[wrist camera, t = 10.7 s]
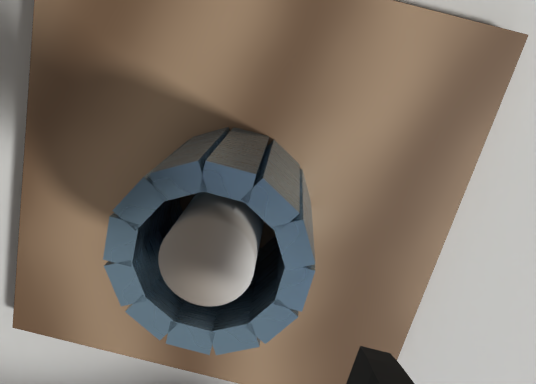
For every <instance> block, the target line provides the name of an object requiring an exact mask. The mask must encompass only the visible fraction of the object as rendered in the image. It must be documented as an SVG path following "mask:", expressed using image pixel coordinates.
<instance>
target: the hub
mask: <svg viewBox="0 0 536 384" xmlns="http://www.w3.org/2000/svg"><path fill="white" fill-rule="evenodd" d="M268 140H269V136H266V135H262V134H258V133H255V132H251V131H247V130H244V129H240V128H236V127H233V129H232V130H231V131H230V130H229V127H226V128H223V129H219V130H215V131H212V132H208V133H204V134H201V135H197V136H194V137H193V138H191V139H189V140H188V141H187V142H185V143H184V144H183V145H182V146H180V147H179V148H178V149H177V150H176V151H174V152H173V153H172V154H171V155H169V156H168V157H167V158H166V159H165V160H163V161H162V162H161V163H160V164H159V165H157V166H156V167H155V168H154V169H152V170H151V171H150V172H149V173H148V174H146V175H145V176H144V177H143V178H142V179H141V180H140V181H139V182H138V183H137V184H136V185H135V187H134V188H133V189H132V190H131V191H130V192H129V193H128V194H127V195H126V196H125V197H124V198H123V200H122V201H121V202H120V203H119V204H118V205H117V206H116V207H115V208H114V209H113V210H112V211H113V212H114V213H113V214H112V215H111V216H109V223H108V229H107V236H106V242H105V249H104V256H103V260H106V261H108V262H107V263H106V264H105V265H104V268H105V270H106V272H107V275H108V277H109V280H110V282H111V284H112V287H113V289H114V291H115V294H116V296H117V298H118V301H119V303H120V306H126V305H129V306H128V308H127V309H126V311H125V312H126V313H127V314H128V315H129V316H131V317H132V318H133V319H134V320H135V321H137V322H138V323H139V324H140V325H141V326H143V327H144V328H145V329H146V330H147V331H149V332H150V333H151V334H152V335H153V336H155V337H156V338H157V339H158V340H161V339H162V338H163V337H164V336H165V335H166V334H167V333H168V335H167V340H166V344H169V345H173V346H176V347H180V348H184V349H188V350H192V351H196V352H199V353H203V354H207V355H210V352H211V348H212V345H213V348H214V351H215V354H216V355H220V354H226V353H231V352H236V351H241V350H246V349H251V348H257V347H260V340H261V341H262V342H263V343H264V344H266V343H267V342H269V341H270V340H271V339H272V338H274V337H275V336H276V335H277V334H278V333H280V332H281V331H282V330H283V329H284V328H286V327H287V326H288V325H289V324H290V323H292V322H293V321H294V320H295V319H297V318H298V311H301V312H302V310H303V307H304V304H305V301H306V298H307V295H308V292H309V289H310V286H311V283H312V280H313V276H314V273H315V250H314V236H313V222H312V208H311V200H310V196H309V192H308V188H307V185H306V181H305V177H304V173H303V169H300V164H299V163H298V162H297V161H296V160H295V159H294V158H293V157H292V156H291V155H290V154H289V153H288V152H287V151H286V150H285V149H284V148H283V147H282V146H281V145H280V144H279V143H278V142H276V141H275V140H273V141H272V142H271V143H270V144H269V145H268V146H267V144H268ZM199 192H207V193H211V194H215V195H218V196H222V197H226V198H230V199H234V200H237V201H241V202H244V203H245V204H247V205H248V206H249V207H250V208H251V209H252V210H253V211H254V212H255V213H256V214H257V215H258V216H259V217H260V218H261V219H263V220H264V221H265V222H266V223H267V224H268V225H269V226H270V227H271V228H272V229H273V230H274V231H275V235H276V236H275V237H273V238H272V239H271V240H270V241H269V242H268V243H267V244H266V245H265V246H264V247H262V248H259V250H258V255H257V260H256V265H255V270H254V275H253V278H252V281H251V283H250V285H249V287H248V288H247V289H246V291H245V292H244V293H243V294H242V295H241V296H239V297H238V298H237V299H235V300H234V301H232V302H229V303H227V304H224V305H219V306H201V305H196V304H193V303H190V302H188V301H186V300H184V299H182V298H180V297H179V296H178V295H176V294H175V293H174V292H173V291H172V290H171V289H170V288H169V287H168V285H167V284H166V282H165V281H164V279H163V277H162V275H161V272H160V269H159V262H158V256H159V250H160V246H161V244H162V242H163V240H164V238H165V237H166V235H167V234H168V232H169V231H170V230H171V228H172V227H173V225H174V224H175V223H176V221H177V220H178V218H179V217H180V216H181V214H182V213H183V211H182V208H181V206H180V198H181V197H184V196H188V195H191V194H195V193H199Z"/></svg>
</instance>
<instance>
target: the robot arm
mask: <svg viewBox="0 0 536 384" xmlns="http://www.w3.org/2000/svg"><path fill="white" fill-rule="evenodd" d="M346 384H414V383H413V381H412V380H411V379H410V377H409V376H408V375H407V373H406V372H405V371H404V369H403V368H402V367H401V365H400V364H399V363H398V362H397V360H396V359H395V358H394V357H393V356H392V354H391V353H387V352H383V351H379V350H375V349H371V348H367V347H363V346H360V347H359V350H358V353H357V356H356V358H355V361H354V364H353V366H352V369H351V372H350V375H349V377H348V380H347V383H346Z"/></svg>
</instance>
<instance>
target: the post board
mask: <svg viewBox="0 0 536 384" xmlns="http://www.w3.org/2000/svg"><path fill="white" fill-rule="evenodd" d="M527 37H528V35H527V34H523V33H519V32H515V31H511V30H507V29H503V28H499V27H495V26H491V25H487V24H484V23H480V22H476V21H472V20H468V19H464V18H460V17H456V16H452V15H448V14H445V13H441V12H437V11H433V10H429V9H425V8H421V7H417V6H413V5H409V4H405V3H402V2H398V1H394V0H34V13H33V28H32V43H31V58H30V73H29V89H28V104H27V119H26V134H25V149H24V164H23V179H22V194H21V209H20V224H19V239H18V254H17V269H16V284H15V299H14V314H13V328H17V329H21V330H25V331H29V332H33V333H37V334H41V335H45V336H49V337H53V338H57V339H61V340H65V341H69V342H73V343H77V344H81V345H85V346H89V347H93V348H97V349H101V350H106V351H110V352H114V353H118V354H122V355H126V356H130V357H134V358H138V359H142V360H146V361H150V362H154V363H158V364H162V365H166V366H170V367H174V368H178V369H182V370H186V371H190V372H194V373H198V374H203V375H207V376H211V377H215V378H219V379H223V380H227V381H231V382H235V383H239V384H346V383H347V380H348V377H349V375H350V372H351V369H352V366H353V364H354V361H355V358H356V356H357V353H358V350H359V347H360V346H363V347H367V348H371V349H375V350H379V351H383V352H387V353H391V354H392V356H393V357H394V358H395V359H396V360H397V359H398V356H399V354H400V351H401V349H402V346H403V344H404V341H405V339H406V336H407V334H408V331H409V329H410V326H411V324H412V321H413V319H414V316H415V314H416V312H417V309H418V307H419V304H420V302H421V299H422V297H423V294H424V292H425V289H426V287H427V284H428V282H429V279H430V277H431V274H432V272H433V270H434V267H435V265H436V262H437V260H438V257H439V255H440V252H441V250H442V247H443V245H444V242H445V240H446V237H447V235H448V232H449V230H450V228H451V225H452V223H453V220H454V218H455V215H456V213H457V210H458V208H459V205H460V203H461V200H462V198H463V195H464V193H465V190H466V188H467V186H468V183H469V181H470V178H471V176H472V173H473V171H474V168H475V166H476V163H477V161H478V158H479V156H480V153H481V151H482V148H483V146H484V144H485V141H486V139H487V136H488V134H489V131H490V129H491V126H492V124H493V121H494V119H495V116H496V114H497V111H498V109H499V106H500V104H501V102H502V99H503V97H504V94H505V92H506V89H507V87H508V84H509V82H510V79H511V77H512V74H513V72H514V69H515V67H516V64H517V62H518V60H519V57H520V55H521V52H522V50H523V47H524V45H525V42H526V40H527ZM226 127H229V130H230V131H231V130H232V129H233V127H236V128H240V129H244V130H247V131H251V132H255V133H258V134H262V135H266V136H269V140H268V144H267V146H268V145H269V144H270V143H271V142H272V141H273V140H275V141H276V142H278V143H279V144H280V145H281V146H282V147H283V148H284V149H285V150H286V151H287V152H288V153H289V154H290V155H291V156H292V157H293V158H294V159H295V160H296V161H297V162H298V163H299V164H300V169H303V173H304V177H305V181H306V185H307V188H308V192H309V196H310V200H311V208H312V222H313V236H314V250H315V273H314V276H313V280H312V283H311V286H310V289H309V292H308V295H307V298H306V301H305V304H304V307H303V310H302V312H301V311H298V318H297V319H295V320H294V321H293V322H292V323H290V324H289V325H288V326H287V327H286V328H284V329H283V330H282V331H281V332H280V333H278V334H277V335H276V336H275V337H274V338H272V339H271V340H270V341H269V342H267V343H266V344H264V343H263V342H262V341H261V340H260V347H257V348H251V349H246V350H241V351H236V352H231V353H226V354H220V355H216V354H215V351H214V348H213V345H212V348H211V352H210V355H207V354H203V353H199V352H196V351H192V350H188V349H184V348H180V347H176V346H173V345H169V344H166V340H167V335H168V333H167V334H166V335H165V336H164V337H163V338H162V339H161V340H158V339H157V338H156V337H155V336H153V335H152V334H151V333H150V332H149V331H147V330H146V329H145V328H144V327H143V326H141V325H140V324H139V323H138V322H137V321H135V320H134V319H133V318H132V317H131V316H129V315H128V314H127V313H126V312H125V311H126V309H127V308H128V306H129V305H126V306H120V303H119V301H118V298H117V296H116V294H115V291H114V289H113V287H112V284H111V282H110V280H109V277H108V275H107V272H106V270H105V268H104V265H105V264H106V263H107V262H108V261H106V260H103V256H104V249H105V242H106V236H107V229H108V223H109V216H111V215H112V214H113V213H114V212H113V211H112V210H113V209H114V208H115V207H116V206H117V205H118V204H119V203H120V202H121V201H122V200H123V198H124V197H125V196H126V195H127V194H128V193H129V192H130V191H131V190H132V189H133V188H134V187H135V185H136V184H137V183H138V182H139V181H140V180H141V179H142V178H143V177H144V176H145V175H146V174H148V173H149V172H150V171H151V170H152V169H154V168H155V167H156V166H157V165H159V164H160V163H161V162H162V161H163V160H165V159H166V158H167V157H168V156H169V155H171V154H172V153H173V152H174V151H176V150H177V149H178V148H179V147H180V146H182V145H183V144H184V143H185V142H187V141H188V140H189V139H191V138H193V137H194V136H197V135H201V134H204V133H208V132H212V131H215V130H219V129H223V128H226ZM180 206H181V208H182V211H183V213H182V214H181V216H180V217H179V218H178V220H177V221H176V223H175V224H174V225H173V227H172V228H171V230H170V231H169V232H168V234H167V235H166V237H165V238H164V240H163V242H162V244H161V246H160V250H159V256H158V262H159V269H160V272H161V275H162V277H163V279H164V281H165V282H166V284H167V285H168V287H169V288H170V289H171V290H172V291H173V292H174V293H175V294H176V295H178V296H179V297H180V298H182V299H184V300H186V301H188V302H190V303H193V304H196V305H201V306H219V305H224V304H227V303H229V302H232V301H234V300H235V299H237V298H238V297H239V296H241V295H242V294H243V293H244V292H245V291H246V289H247V288H248V287H249V285H250V283H251V281H252V278H253V275H254V270H255V265H256V260H257V255H258V250H259V248H262V247H264V246H265V245H266V244H267V243H268V242H269V241H270V240H271V239H272V238H273V237H275V236H276V235H275V231H274V230H273V229H272V228H271V227H270V226H269V225H268V224H267V223H266V222H265V221H264V220H263V219H261V218H260V217H259V216H258V215H257V214H256V213H255V212H254V211H253V210H252V209H251V208H250V207H249V206H248V205H247V204H245V203H244V202H241V201H237V200H234V199H230V198H226V197H222V196H218V195H215V194H211V193H207V192H199V193H195V194H191V195H188V196H184V197H181V198H180Z"/></svg>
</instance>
